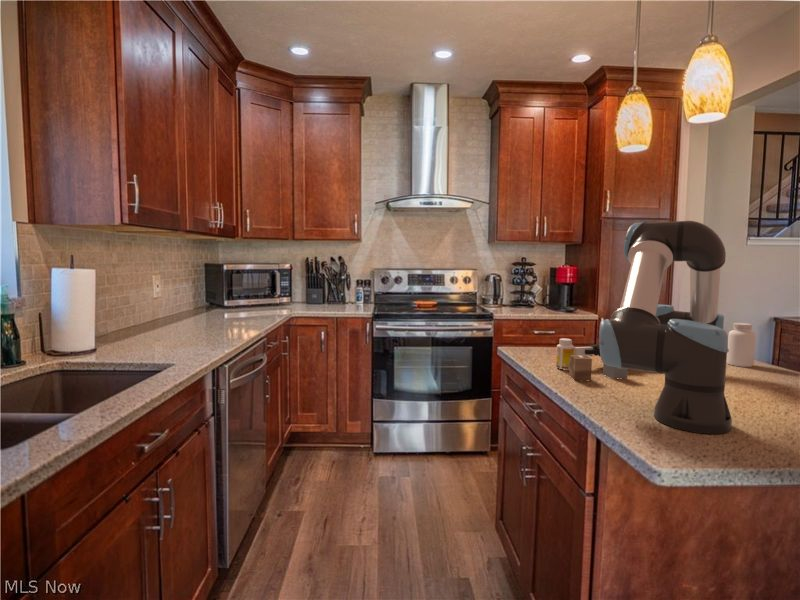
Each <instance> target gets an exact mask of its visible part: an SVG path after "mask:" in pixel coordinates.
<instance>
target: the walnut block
mask: <svg viewBox="0 0 800 600" xmlns="http://www.w3.org/2000/svg"><path fill="white" fill-rule="evenodd" d="M592 364H593V358H591V356H589V355H570V370H568V372H569V373H568V374H569V375H568V376H571V377H572V378H573V379H574V380H591V381H592V368H593V367H592V366H593V365H592ZM573 379H572V380H573ZM574 380H573V381H574Z"/></svg>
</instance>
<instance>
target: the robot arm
mask: <svg viewBox="0 0 800 600" xmlns="http://www.w3.org/2000/svg"><path fill="white" fill-rule="evenodd" d="M623 245H624V246H623V254H624V258H625V260H627V261H628V262H629V264H630V268H629V272H628V274H627V280H626V283H625V287H624V290H623V293H622V294H623V295H622V297H621V301H620V305H619V308H617V310H615V311H613V313H612V314H611V315H610V318H606V319H602V320H601V321H600V323H599V334H598V336H599V337H598V341H599V344H588V345H587V346H574V355H586V356H588V357H592V356H598V357H600V360H601V362H602V363H603V365H604V364H605V365H607V366H612V367H618V368H619V369H621V368H624V369H628V370H632V371H633V370H634V371H639V372H640V371H641V372H650V373H654V374H663V375H664V385H663V388H662V390H661V393H660V394H659V397H658V398H657V401H656V403H655V405H654V410H653V411H654V412H653V417H654V419H655V420H656V421H658V422H659V423H661V424H664V425H665V426H669V427H672V428H675V429H678V430H682V431H687V432H691V433H692V432H693V433H698V434H708V435H712V434H713V435H717V434H721V435H722V434H726V433H729V432H731V430H732V425H733V424H732V423H733V421H732V420H733V419H732V416H731V412H730V409H729V404H728V403H727V402H728V401H727V399H726V396H725V389H726V388H725V386H726V373H727V363H726V361H727V352H729V349H728V333H727V331H726V330H725V329H724V324H725V323H724V321H725V316H724V315H723V314H719V313H718V312H719V311H718V310H719V307H718V306H719V294H720V292H719V291H720V283H721V282H720V280H721V279H720V278H721V268H722V267H724V265H725V264H726V257H727V256H726V254H727V253H726V248H725V247H726V246H725V244H724V242H723V241H722V239H721V237H720V236H719V234H717V233H716V232H715V231H714V230H713V229H712V228H710V227H709V226H707V225H706V224H704V223H702V222H699V221H695V220H683V221H681V220H680V221H679V220H677V221H675V220H674V221H642V222H635V223H633V224H631V225H630V226H629V228H628V229H627V232H626V234H625V240H624V243H623ZM673 262H685V263H686V265H687V267H689V269H690V271H689V272H690V274H689V276H690V277H689V280H690V281H689V285H690V286H689V311H678V310H675V309H674V308H675V306H673V305H671V304H659V302H660V301H659V300H660V295H661V291H662V290H661V289H662V286H663V280H664V277H665V276H664V275H665V270H667V269H668V268H669V267H670V266H671V265H672V263H673Z"/></svg>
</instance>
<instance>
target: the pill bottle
mask: <svg viewBox="0 0 800 600" xmlns="http://www.w3.org/2000/svg"><path fill="white" fill-rule="evenodd" d="M752 330H753V324H752V323H745V322H734V323H733V330H730V331H729V332H728V333H727V335H728V349H729V352H727V361H726V365H727V364H728V365H731V366H733V365H734V366H735V367H739V366H740V367H741V368H751V367H753V366H754V364H755V363H754V361H755V351H756V342H757V341H756V339H757V336H756V333H754V332H753V331H752Z"/></svg>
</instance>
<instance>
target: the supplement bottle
mask: <svg viewBox="0 0 800 600" xmlns="http://www.w3.org/2000/svg"><path fill="white" fill-rule="evenodd" d="M574 347H575V345H574V344H573V340H572V339H570V338H565V337H564V338H563V337H562V338H559V344H557V345H556V359H555V362H556V365H555V367H557V368H559V369H558V370H560V369H565V370H564V371H569V370H570V355H574ZM557 368H556V369H557Z"/></svg>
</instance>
